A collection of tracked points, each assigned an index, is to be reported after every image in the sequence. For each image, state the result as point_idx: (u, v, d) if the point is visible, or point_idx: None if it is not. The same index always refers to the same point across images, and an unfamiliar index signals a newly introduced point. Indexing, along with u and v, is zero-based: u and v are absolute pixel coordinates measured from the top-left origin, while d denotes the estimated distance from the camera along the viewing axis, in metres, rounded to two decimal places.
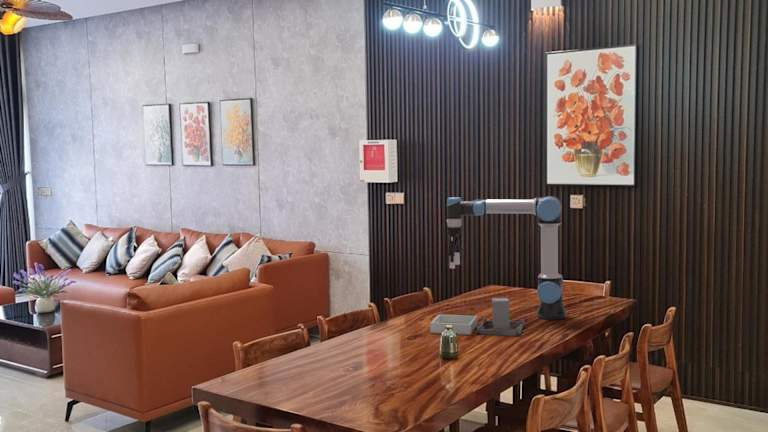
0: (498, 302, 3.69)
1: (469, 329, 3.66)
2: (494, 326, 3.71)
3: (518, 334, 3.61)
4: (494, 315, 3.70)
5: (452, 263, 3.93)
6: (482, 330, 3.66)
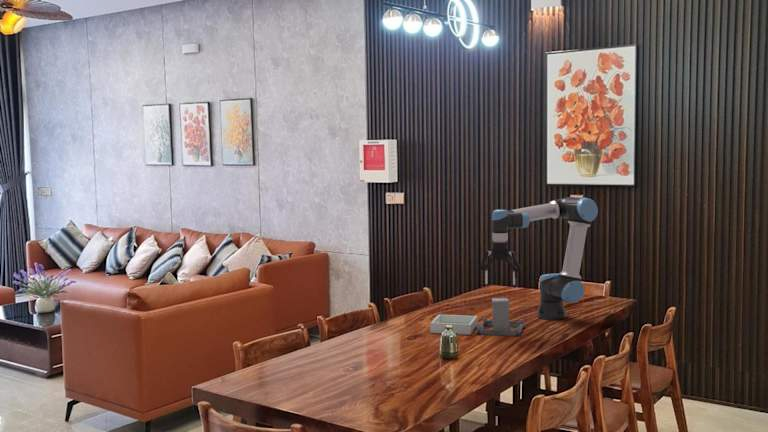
0: (498, 302, 3.69)
1: (469, 329, 3.66)
2: (494, 326, 3.71)
3: (518, 334, 3.61)
4: (494, 315, 3.70)
5: None
6: (482, 330, 3.66)
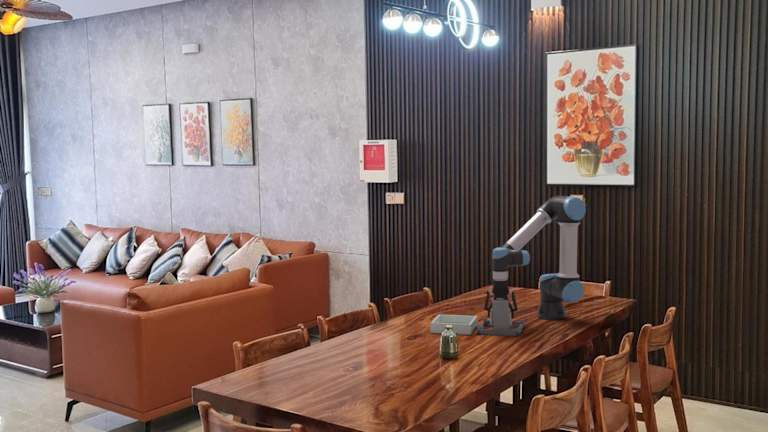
0: (498, 302, 3.69)
1: (469, 329, 3.66)
2: (494, 326, 3.71)
3: (518, 334, 3.61)
4: (494, 315, 3.70)
5: (490, 319, 3.74)
6: (482, 330, 3.66)
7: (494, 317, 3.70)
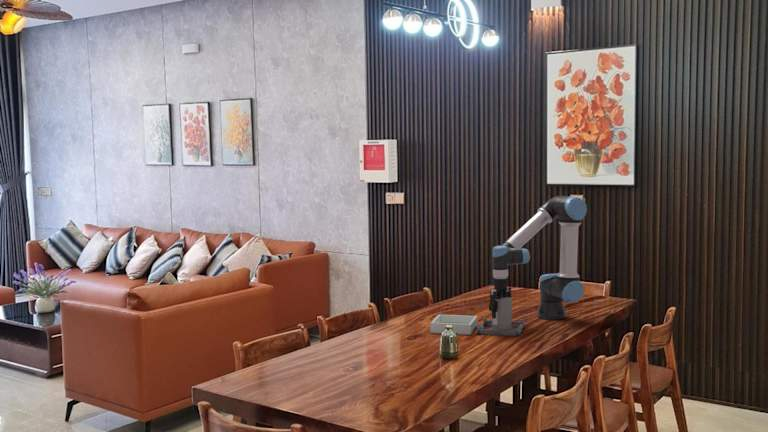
0: (505, 301, 3.68)
1: (469, 329, 3.66)
2: (501, 325, 3.68)
3: (518, 334, 3.61)
4: (502, 314, 3.68)
5: (494, 319, 3.69)
6: (482, 330, 3.66)
7: (502, 316, 3.68)
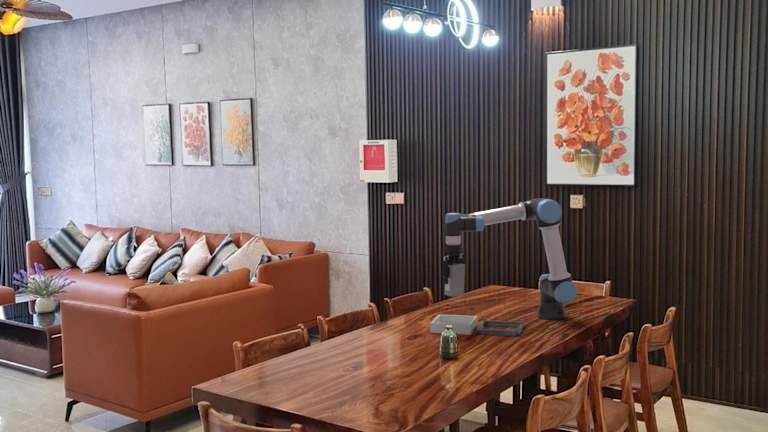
0: (458, 267, 3.71)
1: (469, 329, 3.66)
2: (453, 291, 3.72)
3: (518, 334, 3.61)
4: (454, 280, 3.71)
5: (447, 285, 3.73)
6: (482, 330, 3.66)
7: (454, 282, 3.71)
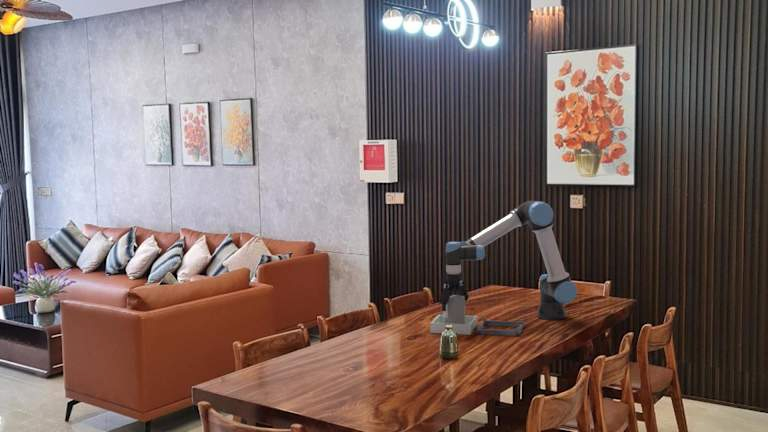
0: (457, 299, 3.73)
1: (469, 329, 3.66)
2: None
3: (518, 334, 3.61)
4: (454, 313, 3.72)
5: (444, 312, 3.72)
6: (482, 330, 3.66)
7: (454, 315, 3.72)
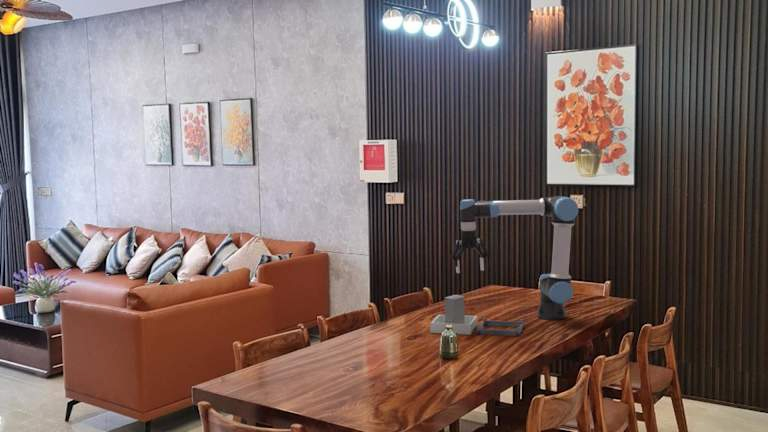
0: (457, 299, 3.73)
1: (469, 329, 3.66)
2: None
3: (518, 334, 3.61)
4: (454, 313, 3.72)
5: (457, 267, 3.81)
6: (482, 330, 3.66)
7: (454, 315, 3.72)
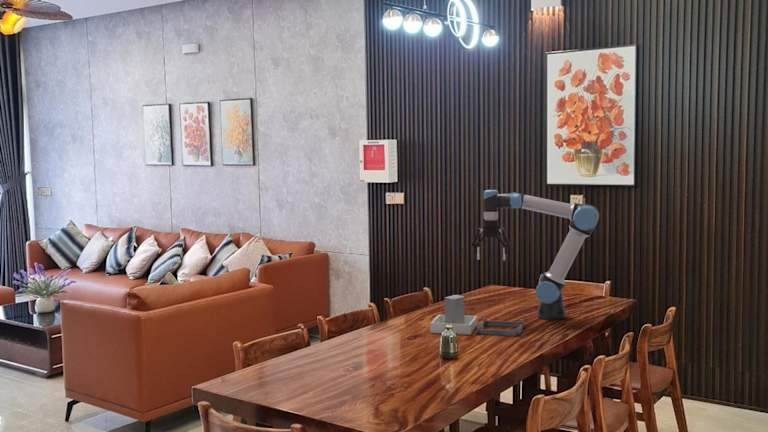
0: (457, 299, 3.73)
1: (469, 329, 3.66)
2: None
3: (518, 334, 3.61)
4: (454, 313, 3.72)
5: None
6: (482, 330, 3.66)
7: (454, 315, 3.72)
